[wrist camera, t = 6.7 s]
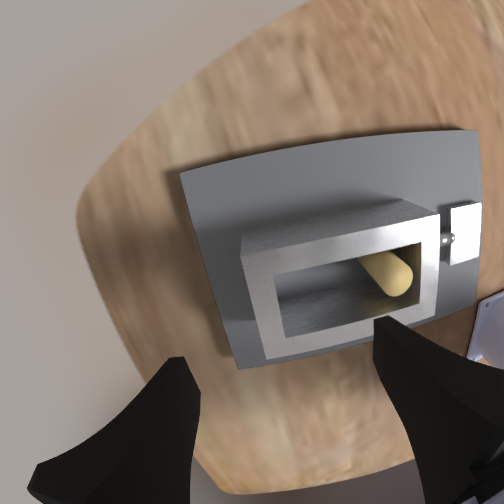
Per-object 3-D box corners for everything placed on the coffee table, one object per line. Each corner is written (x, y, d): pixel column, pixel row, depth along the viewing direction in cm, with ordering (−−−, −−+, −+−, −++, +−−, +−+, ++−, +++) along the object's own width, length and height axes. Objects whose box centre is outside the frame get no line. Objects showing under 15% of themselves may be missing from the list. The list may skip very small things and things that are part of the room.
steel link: (403, 199, 16) (439, 214, 12) (405, 285, 18) (434, 315, 14) (242, 231, 17) (240, 256, 13) (263, 319, 19) (266, 359, 15)
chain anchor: (473, 200, 16) (482, 203, 15) (472, 252, 17) (480, 257, 16) (420, 211, 16) (428, 215, 15) (421, 268, 18) (428, 274, 17)
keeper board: (464, 129, 16) (516, 132, 10) (464, 297, 20) (500, 329, 15) (185, 171, 17) (157, 181, 12) (238, 356, 22) (236, 410, 16)
